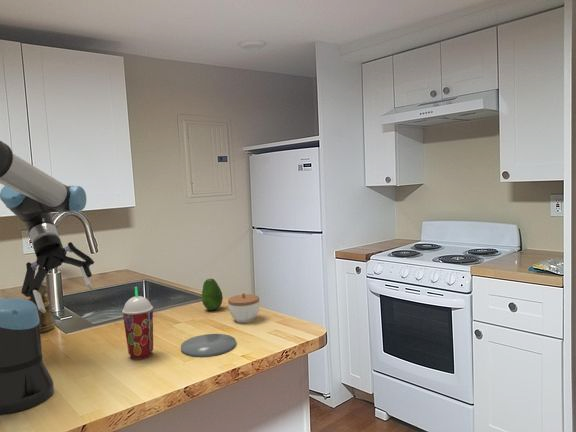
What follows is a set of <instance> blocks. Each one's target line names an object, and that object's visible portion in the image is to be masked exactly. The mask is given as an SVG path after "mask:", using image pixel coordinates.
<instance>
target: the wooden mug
mask: <svg viewBox="0 0 576 432" xmlns="http://www.w3.org/2000/svg"><path fill="white" fill-rule="evenodd" d="M38 292H39V293H40V294H41V297H42V301H43V304H44V307H45V310H46V312H45V313H42V312H41V311H40V310H39V309H38V306H37V304H35V303H34V304H35V305H36V306H37V310H38V316H39V319H40V323H39V324H40V334H42V333H46V332H50V331H53V330H54V329H55V328H56V326H55V321H54V320H53V317H52V313H51V312H52V311H51V308H50V306H51V303H50V300H49V299H48V296H47V293H48V290H47V287H46V286H45V285H44V284H41V286H40V288H39V290H38ZM27 300H30V301H32V299H31V296H29V298H28V299H27Z"/></svg>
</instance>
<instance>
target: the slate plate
mask: <svg viewBox="0 0 576 432" xmlns="http://www.w3.org/2000/svg"><path fill="white" fill-rule="evenodd" d="M236 341H237V340H236V338H235V337H234V336H232V335H229V334H226V333H208V334H207V333H206V334H201V335H196V336H193V337H190V338H188V339H186V340H184V341H183V342H182V343H181V344H180V351H181V353H182V354H184V355H185V356H188V357H193V358H194V357H195V358H207V357H208V358H209V357H214V356H219V355H224V354H226V353H229V352H231V351H232V350H233V349H235V347H236V345H237V344H236V343H237V342H236Z"/></svg>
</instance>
